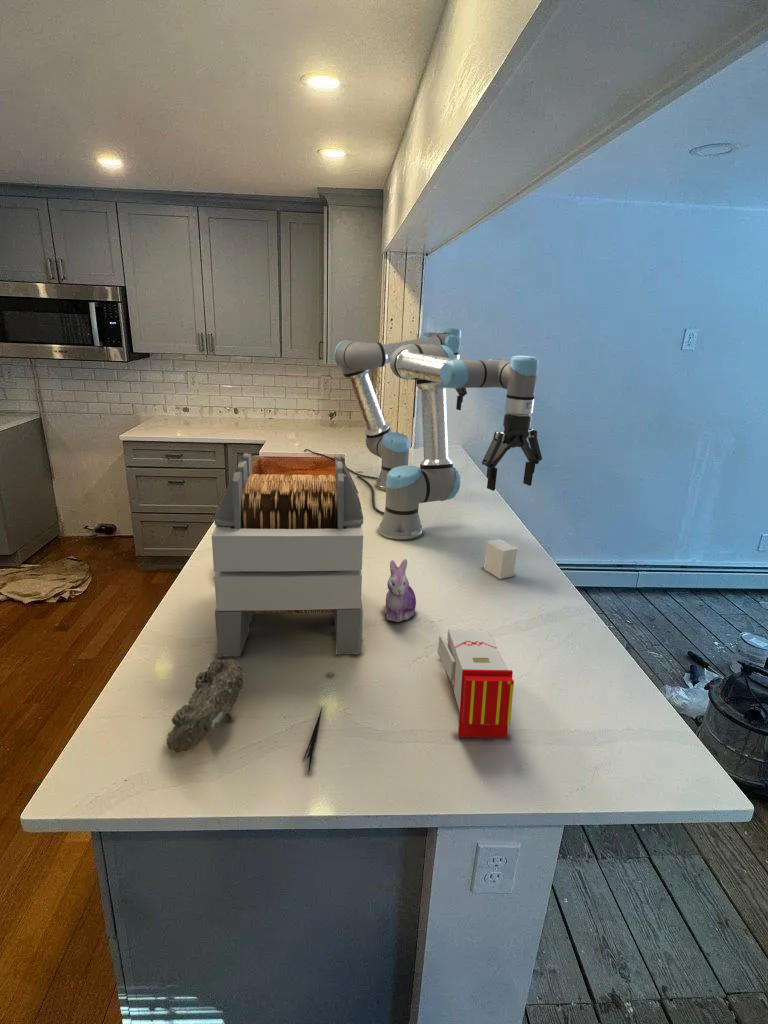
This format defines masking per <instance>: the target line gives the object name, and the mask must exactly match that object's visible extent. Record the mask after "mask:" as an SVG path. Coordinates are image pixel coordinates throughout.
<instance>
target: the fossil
mask: <svg viewBox="0 0 768 1024" xmlns="http://www.w3.org/2000/svg"><path fill="white" fill-rule="evenodd" d="M243 670H244V669H243V667H242V665H240V664H237V662H236V661H235V660H234V659H232V658H231V659H227V658H226V659H224V660H223V661H222V660H217V659H212V660H211V661H210V663H209V665H208V666H207V671H201V672H199V673H198V674H197V675H196V676H195V680H194V684H195V685H194V687H195V689H194V690H193V693H192V694H191V697H190V698H189V700H188V704H184V705H182V706H181V707H180V709H177V710H176V711H175V713H174V715H173V716H172V718H171V723H172V724H173V727H172V730H171V731H170V732H168V734H167V738H166V741H167V742H166V745H167V749H168V750H169V751H173V752H174V753H176V754H178V753H182V752H188V751H189V752H192V751H193V750H195V748H196V747H197V746H199V744H200V743H201V742H203V741H204V740H205V739H206V738H207V737H208V736H209V735H210V734H211V733H212V732H214V730H215V729H217V727H218V726H219V724H220V722H221V721H222V720H223V719H224V718H225V716H226V717H227V719H229V720H233V717H232V715H230V714H229V710H230V709H231V708H234V706H235V704H236V703H237V702H238V699H239V697H240V695H241V693H242V691H243V690H245V689H244V688H245V675H244V671H243Z"/></svg>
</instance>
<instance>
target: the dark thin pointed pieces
mask: <svg viewBox="0 0 768 1024" xmlns="http://www.w3.org/2000/svg"><path fill="white" fill-rule="evenodd" d="M329 675H330V676H331V675H332V674H331V673H330V674H329ZM322 710H323V707H321V708H320V710H319V713H318V716H317V719H316V723H315V725H314V728H313V731H312V733H311V737H310V739H309V742H308V745H307V748H306V751H305V754H304V757H303V760H302V763H301V767H302V765H303V763H304V761H305V758H308V759H309V760H308V762H307V763H308V764H307V766H308V771H310V770H311V766H312V765H311V764H312V760H313V757H315V756H314V755H315V751H316V749H315V746H317V739H318V733H319V729H320V722H321V717H322V712H323V711H322ZM313 754H314V755H313ZM306 755H307V757H306Z"/></svg>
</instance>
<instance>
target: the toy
mask: <svg viewBox="0 0 768 1024" xmlns="http://www.w3.org/2000/svg"><path fill="white" fill-rule="evenodd" d="M446 640H447V643H446V641H445V639H444V636H443V635H442V634H439V637H438V646H437V656H438V657H439V659H440V661H441V663H442V666H443V668H444V670H445V672H446V674H447V677H448V679H449V681H450V684H451V687H452V690H453V693H454V697H455V701H456V705H457V708H458V711H459V714H458V715H459V716H458V730H457V731H458V732H457V737H458V738H508V731H509V726H510V725H511V717H512V707H513V697H514V696H513V695H514V684H515V680H514V679H513V673H514V671H513V670H512V669H508V667H507V665H506V662H505V661H504V659H503V658H502V655H501V653H500V651H499V649H498V647H497V643H496V639H495V637H494V635H493V634H491V632H490V631H489V629H467V628H466V629H465V628H463V629H461V628H460V629H459V628H448V630H447V639H446Z"/></svg>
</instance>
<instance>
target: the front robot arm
mask: <svg viewBox="0 0 768 1024" xmlns="http://www.w3.org/2000/svg"><path fill="white" fill-rule="evenodd" d="M539 361H540V360H539V359H538V358H537V357H536V356H532V355H531V356H529V355H513V356H511V358H510V360H509V361H508V360H502V359H500V358H490V359H476V360H472V359H460V358H459V359H455V356H454V354H453V352H452V350H451V349H450V348H449V347H447V346H445V345H438V344H423V345H416V344H408V345H403V346H401V347H399V348H397V349H396V350H395V351H394V352H393V354H392V355H391V358H390V363H389V367H390V370H391V372H392V373H393V374H394V375H395V376H396V377H397V378H399V379H402V380H410V381H411V380H412V381H415V386H416V387H417V389H419V390H420V400H421V422H422V446H423V460H422V461H421V462H420V464H419V466H416V465H412V464H411V465H408V466H407V465H406V466H399V467H395V468H393V469H391V470H390V471H389V472H388V474H387V480H386V491H385V504H384V505H385V507H384V508H385V509H384V511H382V510H380V509H378V508H377V507H376V503H375V492H374V488H373V486H372V485H371V483H370V482H369V481H368V480H367V479H365V478H363V476H359V475H357V476H356V477H357V479H359V480H362V482H364V483H365V484H366V485H368V487H369V488H370V491H371V504H372V508H373V510H374V511H375V512H376V513H378V514H381V515H382V519H381V522H379V526H378V533H379V534H380V535H381V536H382V537H385V538H387V539H389V540H395V541H410V540H415V539H418V538H420V537H421V536H422V535H423V525H422V524H421V518H420V515H419V507H420V506H419V505H420V504H425V503H426V504H427V503H433V502H444V501H447V500H452V499H453V498H455V497H456V495H457V494H458V493H459V491H460V487H461V474H460V473H459V470H458V469H457V468H456V467H454V462H453V461H452V460H451V459H450V458H449V442H448V441H449V440H448V439H449V438H448V415H447V414H448V413H447V411H448V410H447V390H446V389H454V390H456V389H459V388H460V389H461V388H466V389H470V388H471V389H472V388H473V389H477V388H479V389H480V388H482V389H483V388H485V389H486V388H500V389H505V390H506V396H505V397H506V398H505V407H504V412H505V413H504V414H503V424H502V425H503V429H504V430H503V432H500V431H497V430H495V431H494V433H493V438H492V441H490V444H489V446H488V448H487V450H486V452H485V455H484V457H483V459H482V461H481V465H482V466H485V467H486V479H487V483H486V489H488V490H490V491H492V492H494V491H496V484H497V475H498V467H497V466H498V464H499V463H500V462H501V460H502V459H503V457H504V456H505V454H506V453H507V452H508V450H509V451H510V450H511V449H513V448H520V449H521V450H522V452H523V454H524V456H525V458H526V459H527V461H525V466H524V474H523V481H522V484H524V485H526V486H529V487H531V486H532V484H533V483H532V482H533V476H534V473H535V469H536V465H538V464H540V461H541V462H542V460H543V456H542V452H541V448H540V444H539V441H538V431H537V429H533V428H531V427H532V419H533V416H532V414H533V411H534V404H535V396H536V390H537V389H536V388H537V383H538V382H537V381H538V375H539V364H540V363H539Z"/></svg>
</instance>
